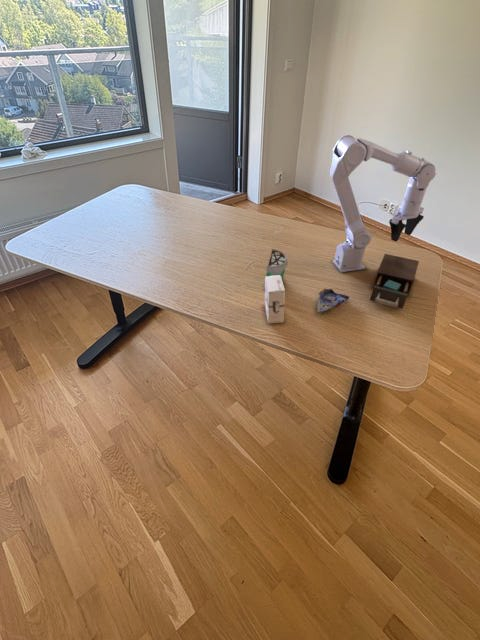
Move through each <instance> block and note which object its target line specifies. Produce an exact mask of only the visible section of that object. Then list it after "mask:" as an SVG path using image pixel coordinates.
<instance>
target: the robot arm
mask: <svg viewBox="0 0 480 640" xmlns="http://www.w3.org/2000/svg"><path fill="white" fill-rule="evenodd" d="M370 159H375V160H377V161H380V162H383V163H385V164H389V165H390V168H391V170H392V172H393V171H394V172H396V173H399V174H401V175H403V176H406V177H408V178H409V180H408V183H407V185H406V190H405V192H404V196H403V199H402V203H401V206H400V207H399V208H397V209H396V213H395V215H394V216H393V217H391V218H390V219H389V221H388V224H389V226H390V240H391V241H393V242H395V243H396V242H398V241H399V239H400V237H401V234H402V232H404V234H405V235H407V236H411V235H412V233H413V232H414V231H415V229H416V227H417V226H418V225H419V224H420V222H422V220H424V215H423V212H424V207H422V203H423V200H424V197H425V194H426V191H427V189H428V187H429V185H430V183H431V182H432V181H433V180H434V179H435V177H436V175H437V172H436V167H435V165H434V164H433V163H432V162H430V161H428V160H427V159H425V157H423V156H417V155H414V154H413V152H412V151H410V150H406V151H405V150H400V151H398V152H393V151H391V150H389V149H388V148H385V147H383V146H381V145H379V144H377V143H375V142H372V141H370V140H367V139H364V138H362V137H357V136H356V138H355V137H354V136H353V135H351V134H346V135H343V136H341V137H340V138H339V139H338V140H337V142H336V143H335V145H334V146H333V149H332V160H331V166H330V171H329V178H330V180H331V183H332V186H333V189H334V192H335V195H336V198H337V201H338V203H339V206H340V209H341V212H342V216H343V218H344V225H345V226H344V227H345V228H344V234H345V235H346V238H345V240H344V241H343V243H340V244H337V246H336V249H335V254H334V259H332V262H333V264H334V265H335V266H336V267H337V269H338V270H339V271H340V272H341V273H346V272H354V271H361V270H366V266H365V265H364V264H363V259H364V256H365V251H366V248H367V246H368V245H370V244H371V242H372V234H371V233H370V232H369V231H368V229H367V228H366V226H365V224H364V222H363V220H362V217H361V214H360V211H359V207H358V204H357V201H356V197H355V194H354V192H353V188H352V185H351V182H350V178H349V177H350V176H351V174H352V173H353V172H354V171H355V170H356V169H357V168H358V167H359V166H360V165H361V164H362V163H363V161H364V162H368V161H369V160H370ZM404 221H405V223H404Z"/></svg>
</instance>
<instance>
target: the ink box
mask: <svg viewBox="0 0 480 640" xmlns="http://www.w3.org/2000/svg"><path fill="white" fill-rule="evenodd" d="M285 301H286V289H285V285H284V280H283V281H282V278H281V276H280V275H275V276H267V275H266V276H264V309H265V310H264V311H265V315H266V318H267V324H281V323H284V320H285V303H286V302H285Z"/></svg>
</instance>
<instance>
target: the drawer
mask: <svg viewBox="0 0 480 640" xmlns="http://www.w3.org/2000/svg"><path fill="white" fill-rule="evenodd" d="M388 280H391V281H394V282H397V283H399V284H401V287H400V290H399V291H395V290H391V289H387V288H383V286H384V284H385V283H386V282H387V281H388ZM409 282H410V281H406V280H402V279H398V278H394V277H390V276H385V275H381V274H380V277H379V279H378V282H377V284H376V286H375V285H374V284H373V285H374V287H373V286H372V291H371V294H370V297H369V301H370V302H371V301H372V302H374V303H377V304H381V305H385V306H388V307H392V308H394V309H395V308H396V309H401V310H403V309H404V306H405V304H406V301H407V299H408V297H409V295H408V294H406V292H407V289H408V285H409ZM407 296H408V297H407Z"/></svg>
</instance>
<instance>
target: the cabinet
mask: <svg viewBox="0 0 480 640" xmlns="http://www.w3.org/2000/svg"><path fill="white" fill-rule="evenodd" d="M419 263H420V261H419V260H416V259H411V258H407V257H402V256H397V255H394V254H389V253H384V255H383V257H382V259H381V262H380V264H379V267H378V269H377V272H376V274H375V278H374V281H373V285H372V288H373V287H374V285H375V286H376V284H377V282H378V279H379V277H380V274H381V275H385V276H390V277H394V278H398V279H402V280H406V281H410V282H409V285H408V289H407V292H406V294H408V296H407V298H409V295H410V292H411V290H412V287H413V285H414V282H415V278H416V274H417V271H418V266H419Z"/></svg>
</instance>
